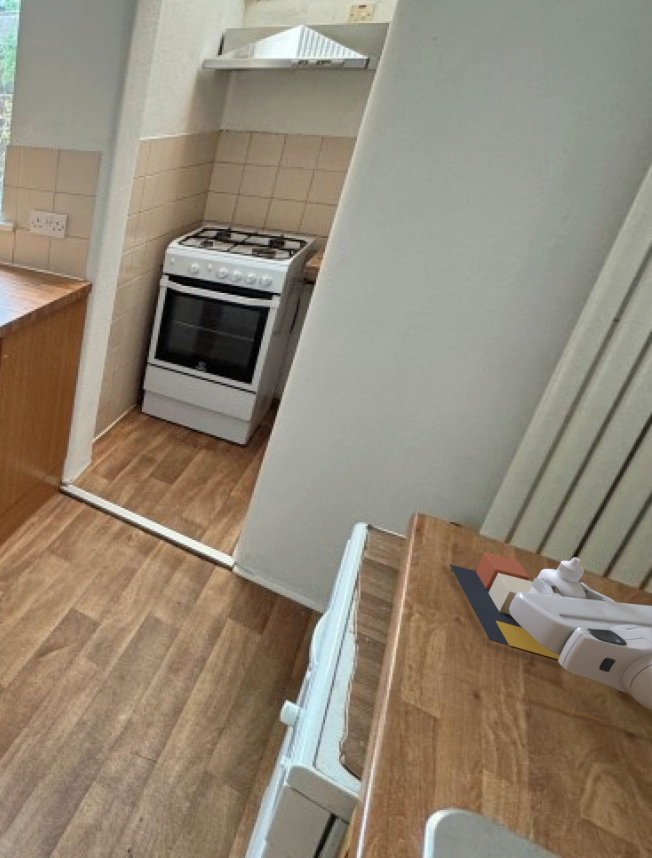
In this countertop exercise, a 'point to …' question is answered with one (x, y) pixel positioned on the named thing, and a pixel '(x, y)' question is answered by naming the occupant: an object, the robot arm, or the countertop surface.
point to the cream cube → (507, 590)
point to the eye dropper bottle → (565, 579)
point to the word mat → (496, 615)
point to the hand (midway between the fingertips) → (555, 583)
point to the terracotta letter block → (498, 569)
